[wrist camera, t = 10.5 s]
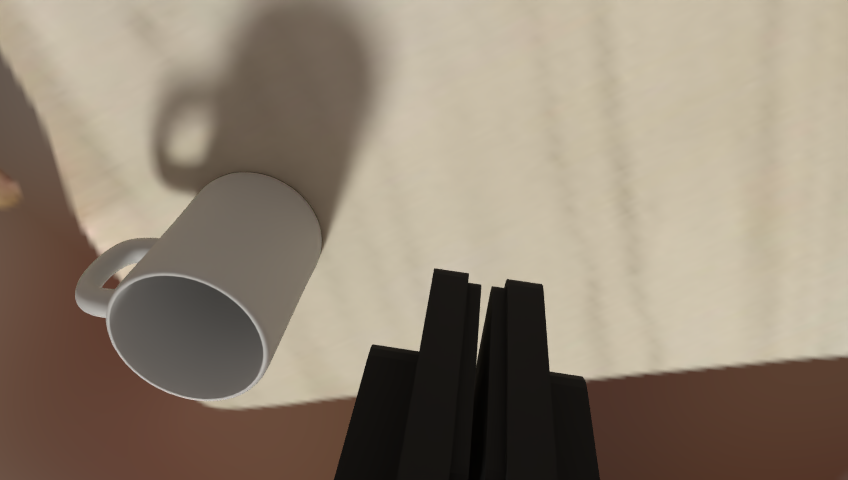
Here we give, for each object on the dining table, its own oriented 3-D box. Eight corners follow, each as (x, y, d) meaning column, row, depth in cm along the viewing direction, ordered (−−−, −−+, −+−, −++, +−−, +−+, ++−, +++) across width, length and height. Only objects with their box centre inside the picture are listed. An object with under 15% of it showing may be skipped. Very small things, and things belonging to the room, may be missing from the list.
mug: (320, 175, 40) (261, 278, 30) (326, 291, 44) (276, 411, 35) (128, 160, 41) (14, 254, 31) (153, 275, 45) (59, 388, 36)
